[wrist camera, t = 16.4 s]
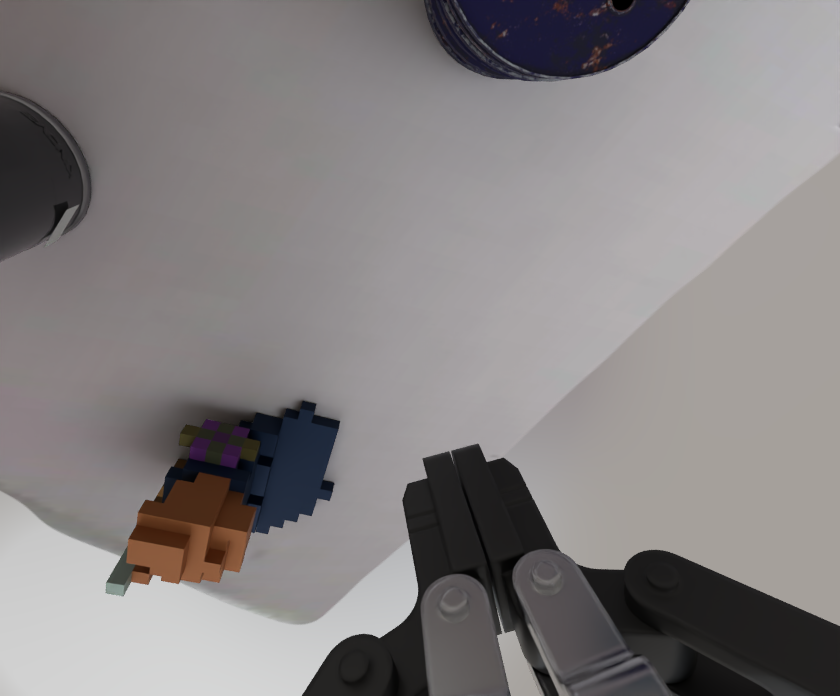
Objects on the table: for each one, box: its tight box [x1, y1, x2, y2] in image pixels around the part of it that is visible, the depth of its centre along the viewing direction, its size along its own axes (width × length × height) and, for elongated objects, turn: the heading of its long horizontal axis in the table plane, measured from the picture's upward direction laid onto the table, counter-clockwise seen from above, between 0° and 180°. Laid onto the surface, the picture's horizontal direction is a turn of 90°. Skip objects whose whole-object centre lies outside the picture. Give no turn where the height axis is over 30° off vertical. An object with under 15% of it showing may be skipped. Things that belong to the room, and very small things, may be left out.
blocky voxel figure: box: [106, 401, 340, 596], centre depth 41 cm, size 15×14×13 cm
